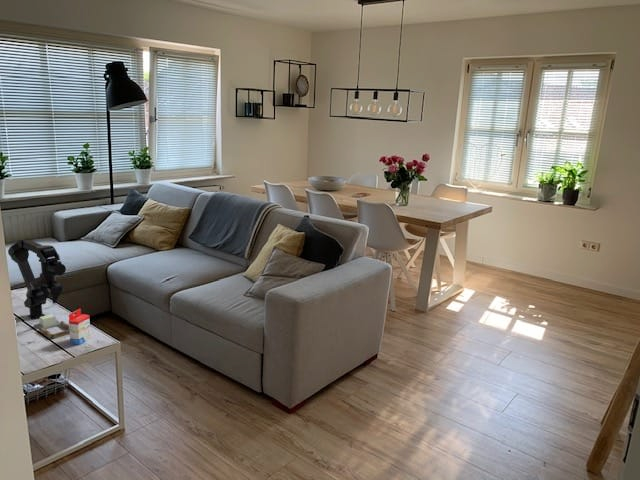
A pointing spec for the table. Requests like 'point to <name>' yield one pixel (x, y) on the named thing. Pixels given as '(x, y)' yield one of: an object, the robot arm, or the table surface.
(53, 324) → the mat
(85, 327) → the ink box
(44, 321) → the sage block
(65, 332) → the frame
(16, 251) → the robot arm
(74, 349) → the table surface
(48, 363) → the table surface
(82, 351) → the table surface
